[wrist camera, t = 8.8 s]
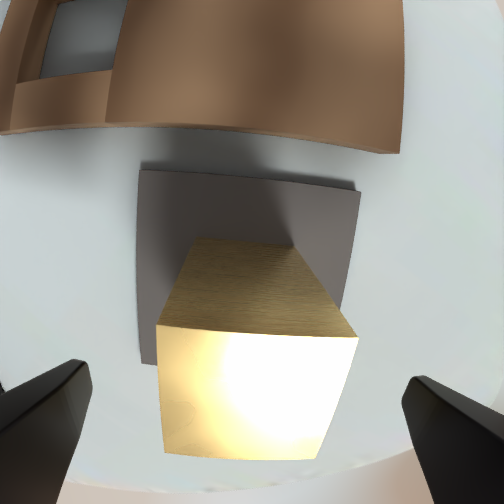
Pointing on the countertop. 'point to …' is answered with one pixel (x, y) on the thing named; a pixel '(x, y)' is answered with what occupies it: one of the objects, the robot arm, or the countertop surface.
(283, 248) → the brass plug
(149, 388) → the countertop surface
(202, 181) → the rubber mat
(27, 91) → the walnut board
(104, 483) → the countertop surface
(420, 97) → the countertop surface
